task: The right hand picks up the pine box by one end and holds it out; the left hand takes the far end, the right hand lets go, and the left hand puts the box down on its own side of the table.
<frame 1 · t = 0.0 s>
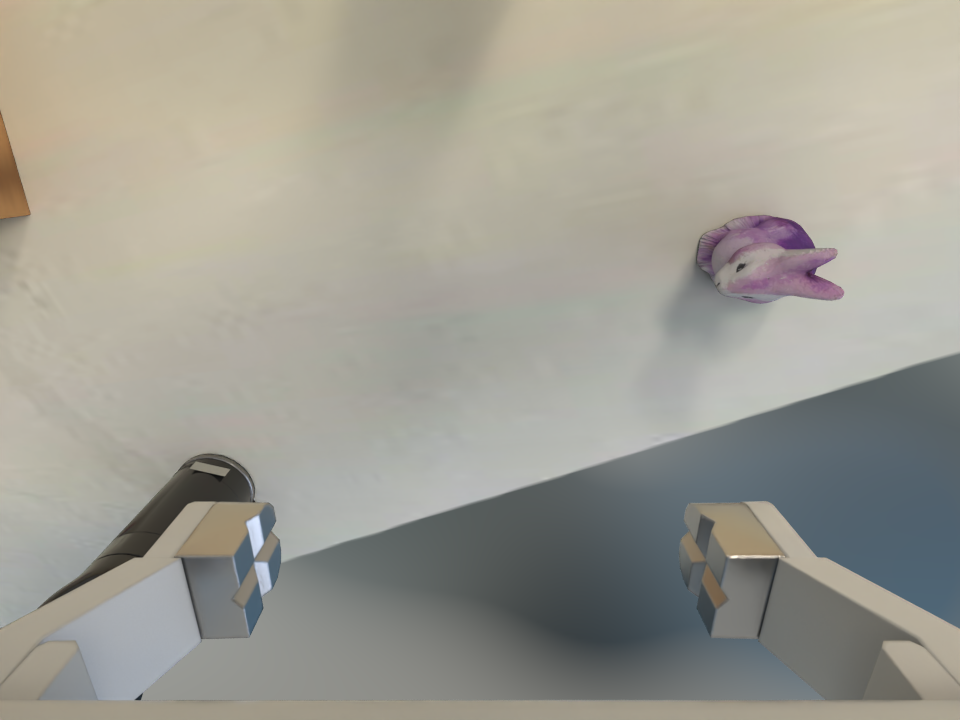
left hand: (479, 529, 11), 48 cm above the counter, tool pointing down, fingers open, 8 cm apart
figurine: (737, 255, 57), on the counter
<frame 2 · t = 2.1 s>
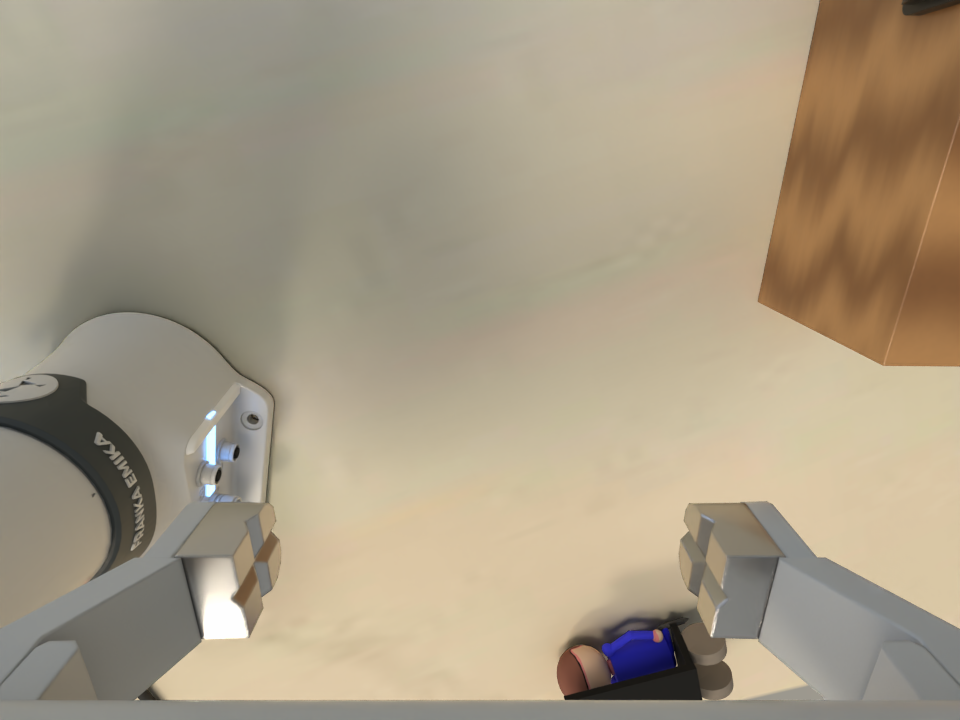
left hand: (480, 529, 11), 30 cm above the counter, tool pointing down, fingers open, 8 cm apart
figurine character: (630, 638, 52), on the counter
box: (833, 146, 36), on the counter, touching right hand
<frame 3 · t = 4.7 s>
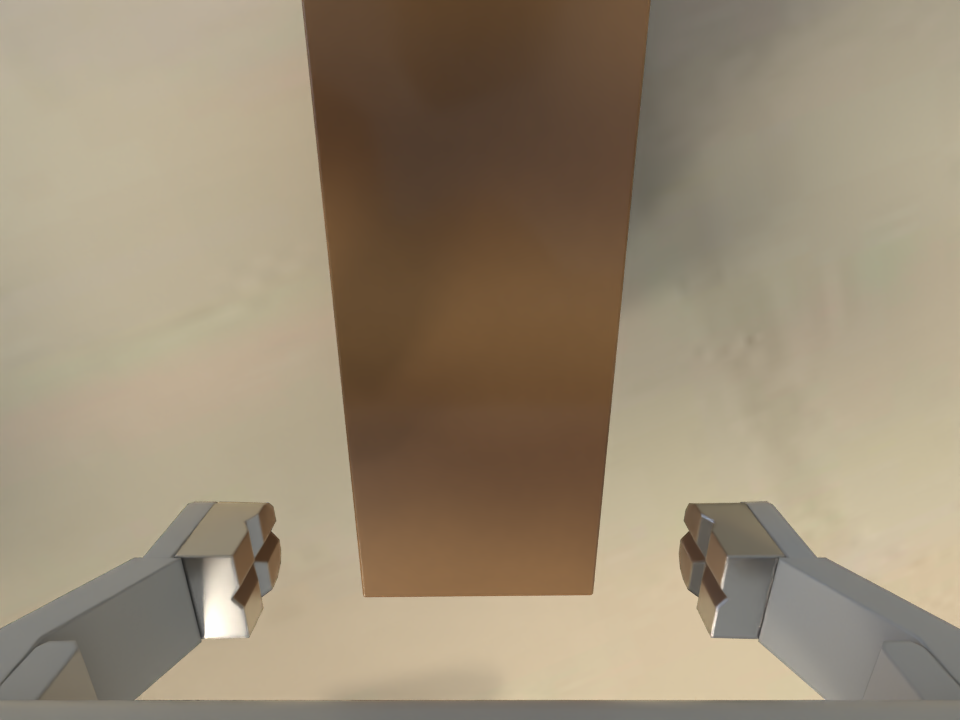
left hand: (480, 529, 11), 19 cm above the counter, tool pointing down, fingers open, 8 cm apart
box: (475, 149, 22), point 4 cm above the counter, touching right hand
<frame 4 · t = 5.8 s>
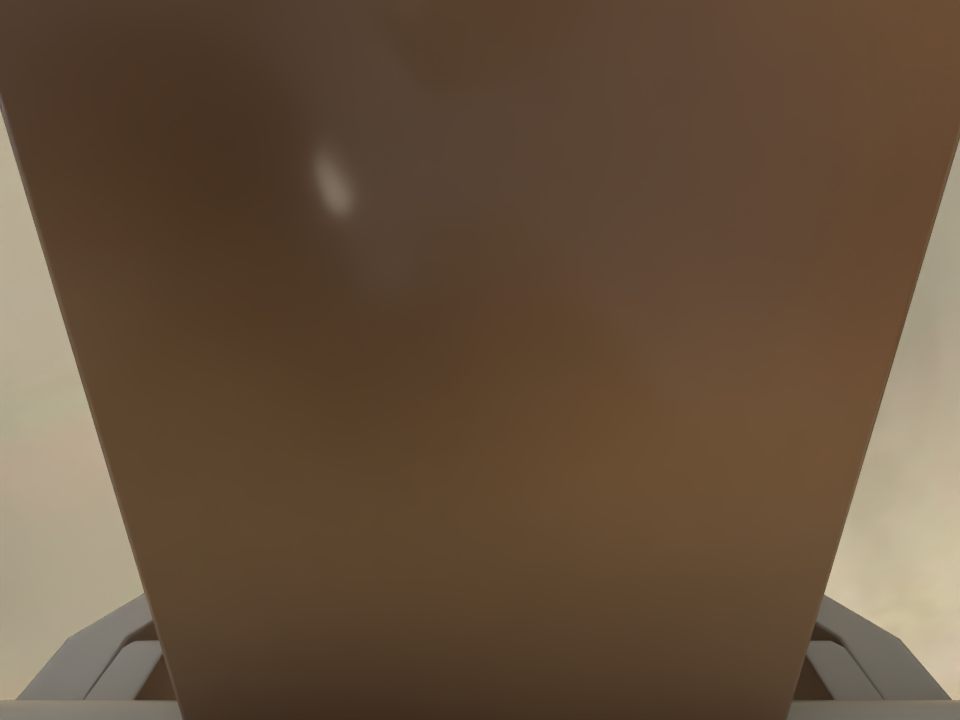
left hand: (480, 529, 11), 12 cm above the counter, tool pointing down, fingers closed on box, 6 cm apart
box: (480, 147, 15), point 4 cm above the counter, touching left hand, right hand
when the right hand's fingers open (13 cm above the counter, at t = 7.2 s): box moves 2 cm, held by the left hand.
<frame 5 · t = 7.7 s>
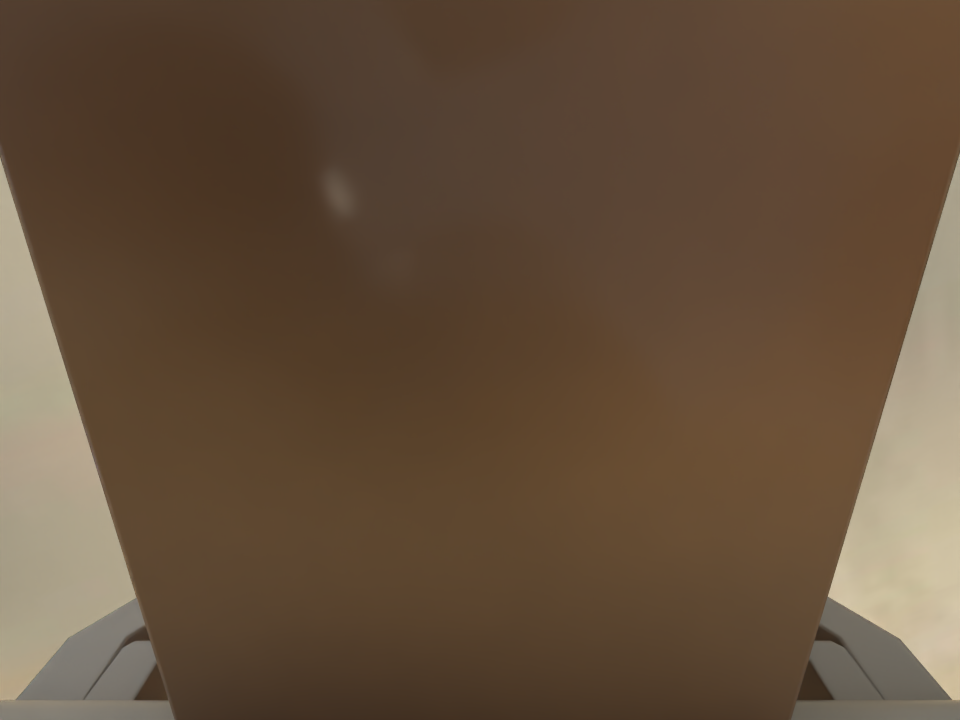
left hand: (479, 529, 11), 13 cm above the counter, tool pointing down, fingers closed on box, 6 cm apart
box: (481, 146, 15), point 6 cm above the counter, touching left hand
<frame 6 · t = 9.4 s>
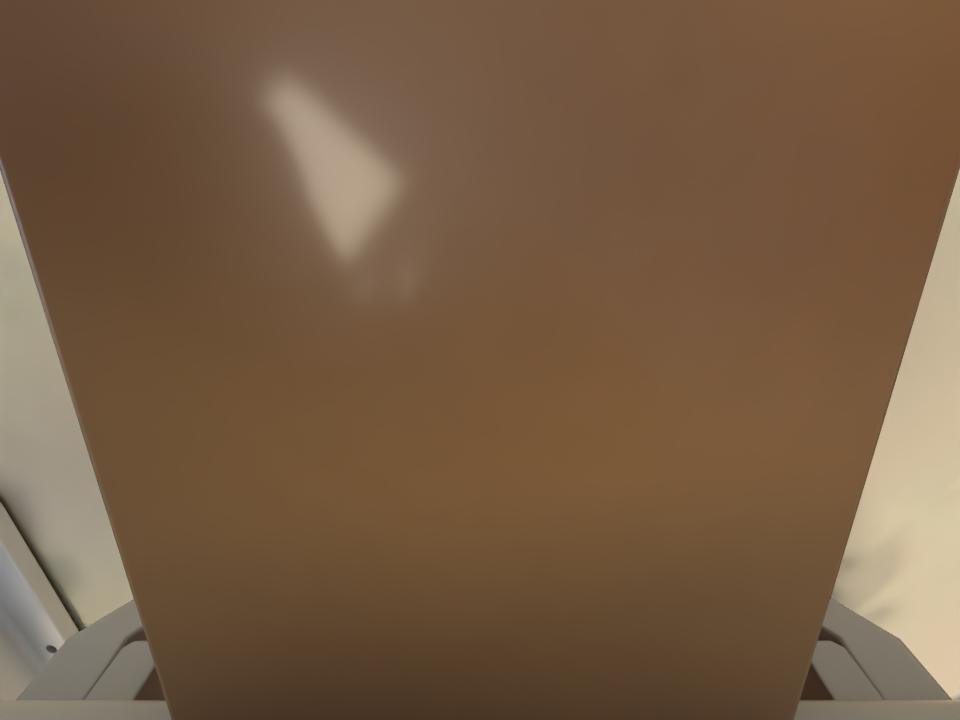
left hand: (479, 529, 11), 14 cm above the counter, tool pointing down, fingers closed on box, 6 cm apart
box: (481, 146, 15), point 7 cm above the counter, touching left hand
when the left hand's fingers open (9 cm above the counter, at t = 10.7 s): box moves 1 cm, on the counter.
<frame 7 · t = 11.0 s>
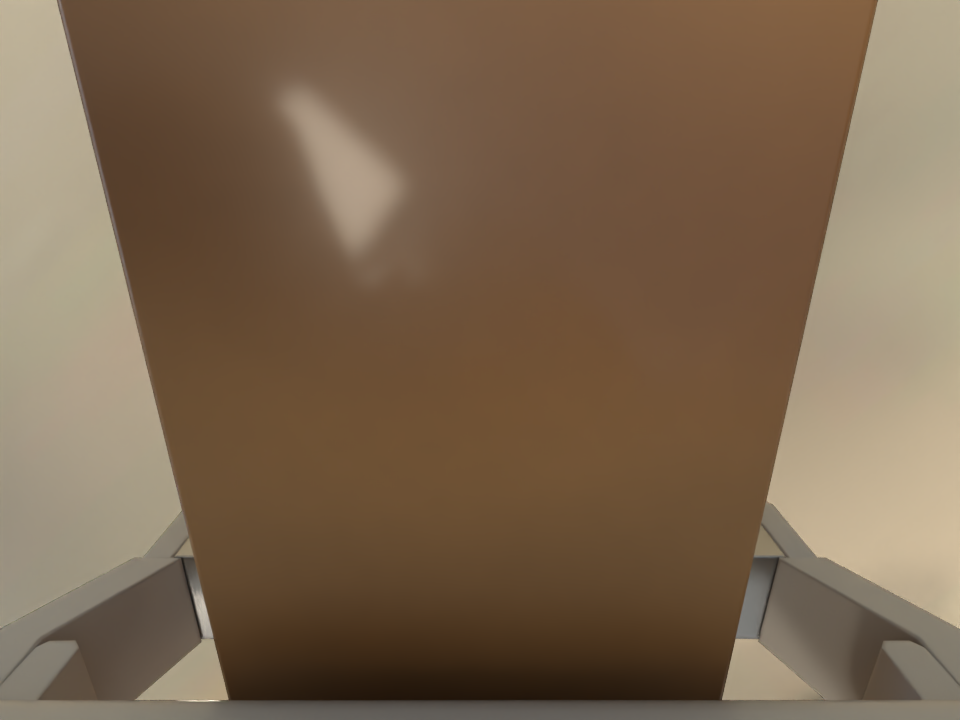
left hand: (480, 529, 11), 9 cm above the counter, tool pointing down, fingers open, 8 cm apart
box: (477, 167, 16), on the counter
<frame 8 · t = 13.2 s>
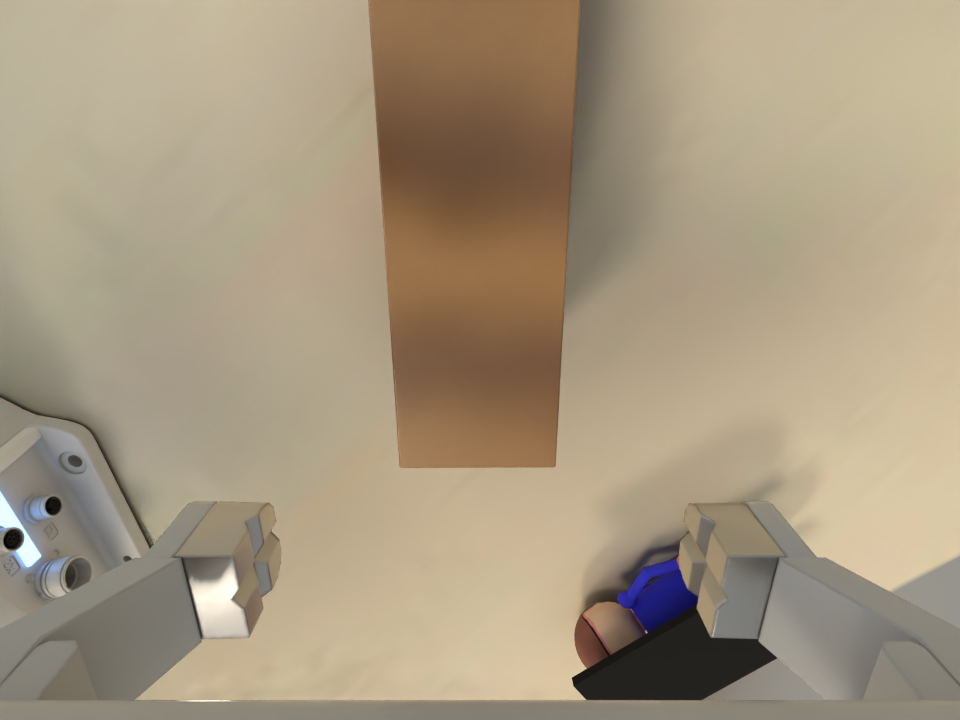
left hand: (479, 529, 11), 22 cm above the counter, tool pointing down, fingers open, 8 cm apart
figurine character: (661, 575, 39), on the counter
box: (477, 161, 29), on the counter
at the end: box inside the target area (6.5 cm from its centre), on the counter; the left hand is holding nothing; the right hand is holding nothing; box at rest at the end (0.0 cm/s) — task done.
